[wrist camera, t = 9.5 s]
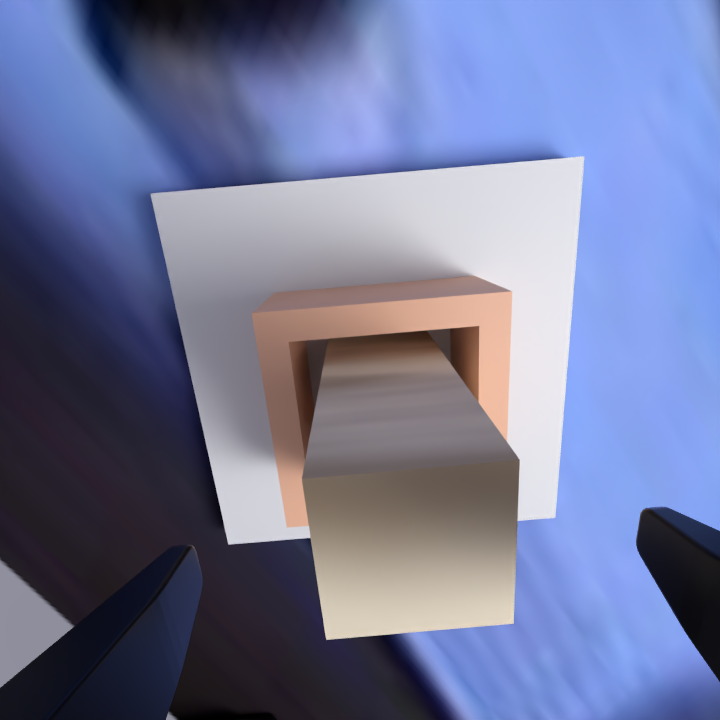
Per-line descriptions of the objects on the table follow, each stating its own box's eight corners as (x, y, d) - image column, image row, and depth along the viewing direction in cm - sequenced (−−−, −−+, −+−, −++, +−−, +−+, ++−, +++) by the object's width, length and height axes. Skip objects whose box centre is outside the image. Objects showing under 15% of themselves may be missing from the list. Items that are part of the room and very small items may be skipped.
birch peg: (428, 416, 18) (513, 623, 9) (338, 424, 18) (326, 639, 9) (425, 328, 17) (519, 459, 8) (328, 337, 17) (302, 479, 8)
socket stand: (545, 504, 21) (602, 585, 16) (234, 530, 21) (200, 618, 16) (570, 160, 16) (662, 133, 11) (162, 195, 16) (83, 182, 11)
